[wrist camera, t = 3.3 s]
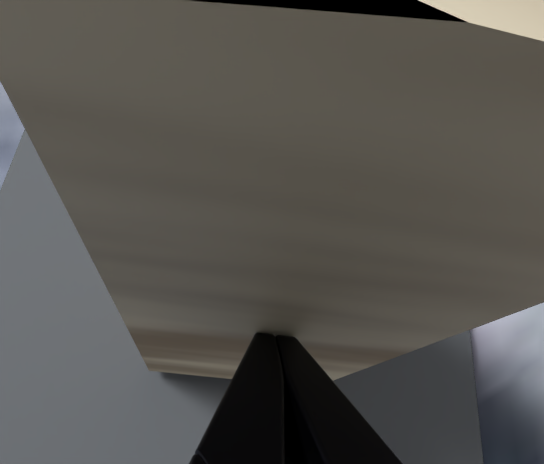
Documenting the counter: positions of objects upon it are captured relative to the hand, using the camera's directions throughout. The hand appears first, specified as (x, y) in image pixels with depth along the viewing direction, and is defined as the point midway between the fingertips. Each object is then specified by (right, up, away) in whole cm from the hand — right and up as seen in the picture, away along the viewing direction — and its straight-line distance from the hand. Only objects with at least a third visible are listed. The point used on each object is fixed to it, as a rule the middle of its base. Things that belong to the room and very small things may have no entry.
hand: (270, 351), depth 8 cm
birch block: (-1, -1, +7) cm, 7 cm away
